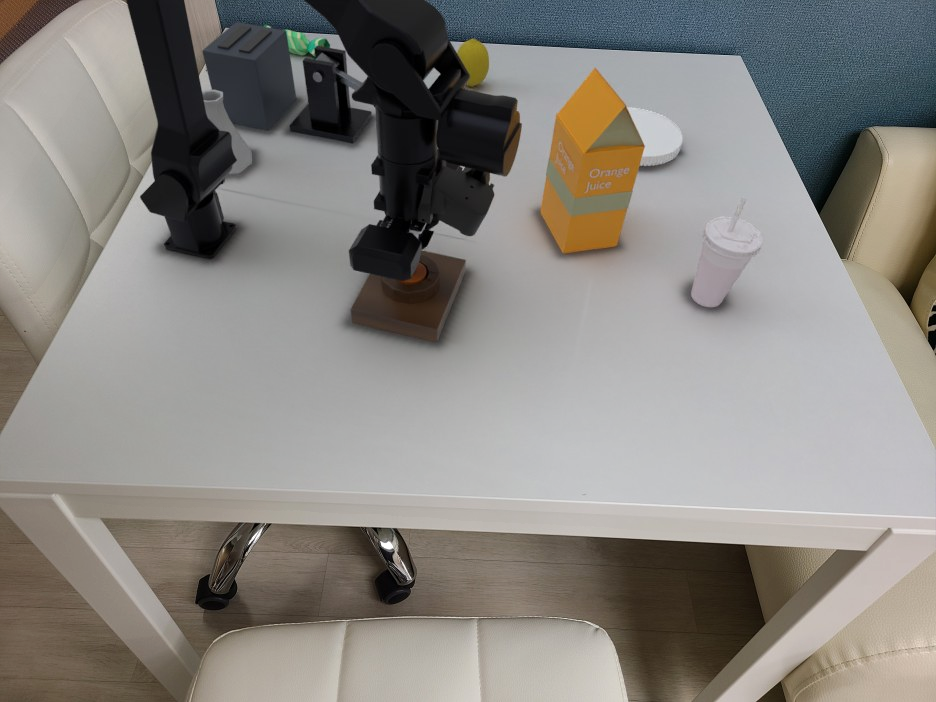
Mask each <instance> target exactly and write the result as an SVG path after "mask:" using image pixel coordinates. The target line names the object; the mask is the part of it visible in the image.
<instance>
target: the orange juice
mask: <svg viewBox="0 0 936 702" xmlns="http://www.w3.org/2000/svg"><path fill="white" fill-rule="evenodd" d="M627 107H628V106H627V104H626V103H625V102H624V101H623V100H622V98H621V97H620V95H618V93H617V92H616V90H614V88H613V87H612V86H611V85H610V83H609V82H608V81H607V80H606V78H605V77H604V76H603V75H602V74H601V72H600V71H599V70H598V69H597V67H594V68H593V70H591V72H590V73H589V74H588V76H587V77H586V78H585V79H584V80H583V81H582V83H581V84H580V85H579V86H578V88H576V90H575V92H574V93H573V94H572V95H571V96H570V97H569V99H567V102H566V103H565V104H564V105H563V107H561V109H560V110H559V111H558V113H557V112H556V114H555V120H554V126H553V131H552V138H551V144H550V149H549V150H550V151H549V157H548V159H547V167H546V172H545V180H544V181H545V182H544V189H543V194H542V200H541V204H540V205H541V206H540V211H539V213H540V215H541V217H542V218H543V221H544V222H545V224H546V226H547V227H548V229H549V231H550V233H551V235H552V237H553V238H554V240H555V242H556V244H557V246H558V247H559V249H560V251H561V253H562V254H569V253H570V254H571V253H576V252H584V251H591V250H600V249H608V248H615V247H617V246H618V243H619V241H620V236H621V232H622V229H623V226H624V222H625V218H626V214H627V211H628V209H629V206H630V203H631V200H632V196H633V190H634V187H635V183H636V180H637V175H638V172H639V170H640V167H641V166H640V162H641V158H642V155H643V151H644V148H645V145H644V143H643V141H642V139H641V137H640V135H639V132H638V130H637V128H636V126H635V124H634V122H633V120H632V117H631V115H630V113H629V111H628V109H627Z"/></svg>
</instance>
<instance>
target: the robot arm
mask: <svg viewBox="0 0 936 702" xmlns="http://www.w3.org/2000/svg"><path fill="white" fill-rule="evenodd" d="M125 1H126V5H127V10H128V13H129V17H130V21H131V24H132V28H133V32H134V36H135V40H136V44H137V48H138V51H139V55H140V60H141V63H142V68H143V70H144V71H143V72H144V74H145V75H144V76H145V79H146V82H147V86H148V90H149V94H150V98H151V102H152V105H153V110H154V114H155V117H156V122H157V126H156V130H155V134H154V138H153V142H152V146H151V149H150V150H151V151H150V158H151V169H152V176H153V180H154V181H153V182H152V183H151V184H150V185H149V186H148V187H147V188H146V190H144V191H143V193H141V195H140V196H139V198H140V200H141V202H142V203H143V204H144V206H145V207H146V209H147V211H148V212H149V213H150V214H154V215H158V216H161V217H164V219H165V222H166V224H167V227H168V230H169V233H170V236H169V237H168V238H167V239H166V241H164V243H163V246H164V249H165V250H170V251H174V252H178V253H183V254H187V255H192V256H196V257H201V258H205V259H213V258H214V257H215V256H216V255H217V253H218V252H219V251H220V250H221V249H222V247H223V246H224V245H225V244H226V242H227V241H228V240H229V239H230V237H231V236H232V235H233V233H234V232H235V231H236V229H237V226H236V224H235V223H233V222H228V221H225V217H224V213H223V210H222V206H221V202H220V198H219V194H218V193H217V192H216V190H217V189H218V188H219V187H220V186H221V185H223V184H225V182H226V178H227V176H228V175H230V174H229V173H230V172H231V170H232V165H233V164H234V163H235V162H236V161H237V159H236V157H235V155H234V153H233V150H232V136H231V134H230V133H229V132H227V131H220V130H219V129H218V128H217V127H216V126H215V125H214V124H213V123H212V122H211V121H210V120H209V119H208V117H207V114H206V109H205V104H204V99H203V94H202V92H203V90H202V85H201V79H200V74H199V69H198V63H197V59H196V54H195V49H194V48H195V47H194V44H193V39H192V38H193V37H192V32H191V28H190V22H189V16H188V12H187V7H186V3H185V0H125ZM303 1H304V2H305V3H306V4H307V5H308V6H310V7H311V8H312V9H313V10H315V11H316V12H317V13H318V14H319V15H321V17H323V18H324V19H325V20H326V22H328V24H330V25H331V26H332V28H333V29H334V30H335V31H336V34H337V35H338V38H339V39H340V42H341V44H342V45H343V49H344V50H345V51H346V55H348V57H349V58H350V59H351V60H352V62H354V63H355V65H357V66H358V67H359V69H360V70H361V71H362V72H363V73H364V74H365V75H366V78H365V80H364V81H362V84H361V85H360V86H359V87H358V88H357V89H356V90H354V91H353V92H352V93H351V99H352V100H353V101H354V102H357V103H362V104H367V105H370V106H373V105H374V106H375V107H374V106H373V107H374V108H375V125H376V127H375V128H376V144H377V155H376V157H375V159H374V160H373V162H372V163H371V166H370V168H371V175H374V176H378V181H379V191H378V193H377V194H376V196H375V198H374V199H373V210H375V211H380V212H384V218H383V220H382V219H379V220H378V222H377V224H371V223H369V224H367V225H366V226H364V227H362V228H361V229H360V231H359V232H358V234H357V236H356V238H355V239H354V240H353V243H352V244H351V246H350V247H349V249H348V256H349V265H350V267H351V269H352V270H353V271H355V272H360V273H365V274H369V275H370V274H373V275H378V276H382V277H387V278H391V279H396V280H400V281H406V280H409V279H411V278H412V276H413V274H414V272H415V269H416V267H417V265H418V263H419V260H420V256H421V251H424V249H426V248H427V247H428V245H429V244H430V241H431V240H432V237H433V236H434V233H435V230H432V229H433V228H435V227H436V226H437V225H438V224H439V223H440V222H442V223H444V224H446V225H448V226H449V227H451V228H453V229H455V230H457V231H458V232H459V233H460V234H461V235H463V236H465V237H473V236H475V235H476V233H477V232H478V230H479V228H480V226H481V225H482V223H483V221H484V220H485V218H486V216H487V215H488V213H489V210H490V208H491V205H492V203H493V200H494V198H495V192H494V187H495V184H494V183H492V182H491V183H490V181H491V175H492V174H493V175H497V176H500V177H504V178H506V177H508V175H509V174H510V172H511V170H512V169H513V168H512V167H513V165H514V163H515V160H516V158H517V157H516V156H517V154H518V149H519V145H520V141H521V140H520V139H521V135H522V127H523V123H522V122H521V115H520V112H519V111H518V102H519V101H518V99H517V98H516V97H513V96H508V95H495V94H488V93H484V92H480V91H476V90H471V89H467V88H466V87H465V86H466V85H467V84H466V83H467V82H468V80H469V79H470V74H469V73H468V71H467V69H466V68H465V66H464V64H463V63H462V61H461V59H460V57H459V56H458V54H457V52H458V51H457V50H456V49H455V47H454V45H453V44H452V42H451V41H450V38H449V36H448V32H447V31H448V30H447V22H446V20H445V18H444V16H443V14H441V12H440V11H439V9H438V8H436V7H435V5H433V4H431V3H430V2H428V1H427V0H303ZM434 69H435V70H436V71H437V72H438V73H439V75H438V77H437V78H435V80H434V81H433V82H432V84H430V87H428V86H427V84H426V83H425V80H426V78H427V77H428V76H429V75H430V74H431V72H432V71H433V70H434Z"/></svg>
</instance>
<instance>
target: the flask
mask: <svg viewBox="0 0 936 702" xmlns="http://www.w3.org/2000/svg"><path fill="white" fill-rule="evenodd" d="M202 94H203V99H204V104H205V109H206V114H207V117H208V119H209V120H210V121H211V122H212V123H213V124H214V125H215V126H216V127H217V128H218V129H219V130H220V131H227V132H229V133H230V134H231V136H232V150H233V153H234V155H235V157H236V159H237V161H236V162H235V163H234V164H233V165H232V170H231V172H230V173H229V174H228V175H237V174H241V173H242V172H244V171H245V170H246V169H247V168H248V167H249V166H251V165H252V164H253V152H252V150H251V149H250V147H249V146H248V144H247V142H246V141H245V140H244V139H243V137H242V135H241V134H240V133H239V132H238V130H237V128H236V127H235V124H232V122H231V121H230V119H229V117H228V115H227V113H226V110H225V108H224V105H223V92H221V91H218V90H212V89H204V90H202Z"/></svg>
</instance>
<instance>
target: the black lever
mask: <svg viewBox="0 0 936 702" xmlns="http://www.w3.org/2000/svg"><path fill="white" fill-rule="evenodd" d="M314 59H315V58H314ZM315 60H321V61H326V62H332V63H335V71H336V80H338V81H340V82H342V83H343V84H345V85H347V86H349V88H351V89H352V90H354V91H355V90H356V89H357V88H358V87H359V86H360V85H361V84H362V83H363V81H361V80H359V79H357V78H355V77H353V76H352V75H349V74H348V73H347V74H346V73H344V72H342V71H341V70H339V69H338V66H339V62H338V61H336V60H334V59H332V58H330V57H329V56H327V55H325V54H323V53H321V54H320V55H319V56H318V57H317V58H316V59H315ZM372 106H373V107H374V108H375V106H374V105H372Z"/></svg>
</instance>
